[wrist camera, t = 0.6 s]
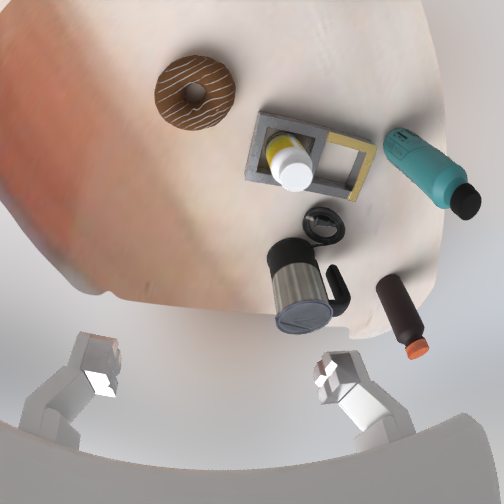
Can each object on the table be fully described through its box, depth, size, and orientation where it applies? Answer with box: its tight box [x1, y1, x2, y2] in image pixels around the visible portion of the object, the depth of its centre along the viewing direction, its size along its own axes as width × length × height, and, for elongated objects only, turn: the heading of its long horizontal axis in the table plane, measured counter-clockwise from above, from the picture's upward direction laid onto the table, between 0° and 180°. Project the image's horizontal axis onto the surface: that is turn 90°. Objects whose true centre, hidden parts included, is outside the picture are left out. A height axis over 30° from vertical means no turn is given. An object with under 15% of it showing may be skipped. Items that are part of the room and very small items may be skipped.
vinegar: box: [376, 275, 429, 360], centre depth 54 cm, size 7×7×20 cm
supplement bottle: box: [265, 133, 313, 192], centre depth 35 cm, size 5×5×10 cm
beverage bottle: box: [384, 128, 481, 220], centre depth 31 cm, size 6×7×20 cm
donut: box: [155, 55, 235, 131], centre depth 31 cm, size 11×11×4 cm
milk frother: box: [267, 207, 351, 334], centre depth 46 cm, size 14×16×15 cm
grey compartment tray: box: [245, 111, 378, 202], centre depth 39 cm, size 10×18×3 cm, turn 78°
